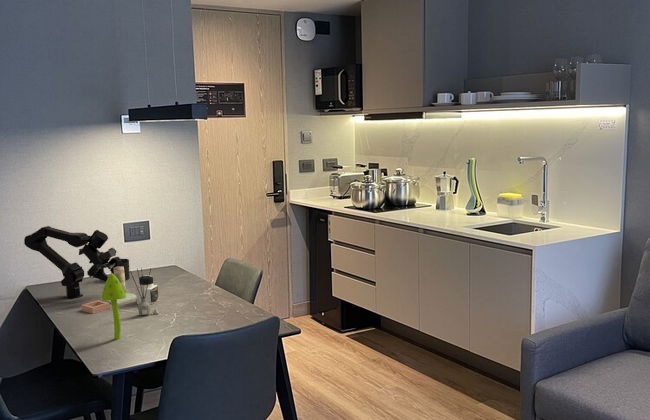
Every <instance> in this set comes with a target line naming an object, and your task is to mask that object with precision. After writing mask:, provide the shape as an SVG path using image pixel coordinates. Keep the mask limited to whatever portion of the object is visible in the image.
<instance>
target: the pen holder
mask: <svg viewBox="0 0 650 420" xmlns="http://www.w3.org/2000/svg"><path fill="white" fill-rule="evenodd" d="M120 259H121V261H120V264H119V266H123V267H124V274H125V282H126V281H128V280H129V279H130V277H131V275H130V274H131V273H130V259H129V258H120ZM111 273H113V272H111V271H110V274H111ZM113 274H114V273H113Z"/></svg>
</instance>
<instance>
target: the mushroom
mask: <svg viewBox="0 0 650 420" xmlns="http://www.w3.org/2000/svg"><path fill="white" fill-rule="evenodd" d="M104 283H105V284H104V287H103V290H102V294H101V299H103V300H111V303H110V304H111V307H112V315H113V330H114V336H113V337H114V340H120V337H121V329H122V326H121V323H122V322H121V315H120V310H119V305H117V299H121V298H124V297H125V296H126V295H125V292H124V290H123V287H122V285H121V283H120V282H119V280H118V278H117V277H116V276H115V275H114V274H113V273H111V272H110V274H109V275H108V279H107V281H106V282H104Z"/></svg>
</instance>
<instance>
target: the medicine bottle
mask: <svg viewBox="0 0 650 420" xmlns="http://www.w3.org/2000/svg"><path fill="white" fill-rule="evenodd" d="M142 276H143V284H142ZM139 277H140V281H139V280H138V281H139V282H138V283H139V287H138V289H137V288H135V295H136V304H137V305H139V304H140V303H141V297H143V296H142V293H143V289H144V297H145V294H146V302H148V303H149V304H150V306H151V305H153V304H154V303H156V302H159V300H160V299H159V286H158V285H157V284H154V283H155V282H154V277H153V276H152V275H150V277H149V274H148V275H147V274H146V275H141V276H139ZM148 278H149V282H148ZM140 282H141V286H140ZM147 283H148V287H147ZM141 287H142V291H141ZM146 289H147V292H146ZM138 290H139V291H138ZM139 292H140V294H139ZM140 295H141V296H140Z"/></svg>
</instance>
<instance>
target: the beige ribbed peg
mask: <svg viewBox="0 0 650 420" xmlns="http://www.w3.org/2000/svg"><path fill="white" fill-rule="evenodd" d="M114 275H115V276H116V277H117V278H118V280H119V282H120V283H121V285H122V287H123V290H124V292H125V295H126V293H127V291H126V290H127V289H126V281H125V274H124V267H123V266H119V267H114ZM124 298H126V296H125V297H124ZM121 299H122V298H121Z"/></svg>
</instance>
